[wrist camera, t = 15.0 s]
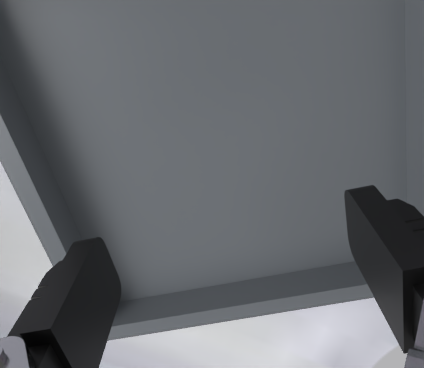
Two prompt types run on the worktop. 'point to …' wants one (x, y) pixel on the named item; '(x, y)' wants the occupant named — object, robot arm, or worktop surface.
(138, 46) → the tray
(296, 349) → the worktop surface
